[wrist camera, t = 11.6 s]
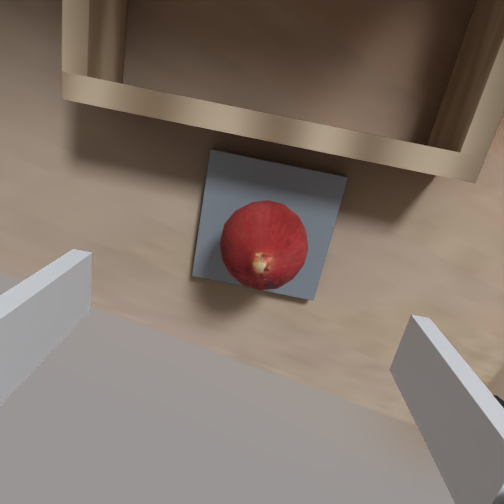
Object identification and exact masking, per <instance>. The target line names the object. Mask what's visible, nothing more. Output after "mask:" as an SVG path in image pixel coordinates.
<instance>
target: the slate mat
mask: <svg viewBox="0 0 504 504" xmlns="http://www.w3.org/2000/svg"><path fill="white" fill-rule="evenodd" d="M347 179H348V177H346V176H343V175H338V174H334V173H329V172H324V171H319V170H314V169H309V168H304V167H299V166H294V165H289V164H284V163H280V162H275V161H270V160H265V159H260V158H255V157H250V156H245V155H240V154H235V153H230V152H226V151H221V150H216V149H211V150H210V156H209V163H208V170H207V177H206V183H205V190H204V197H203V204H202V211H201V218H200V225H199V231H198V238H197V245H196V252H195V259H194V266H193V273H192V276H194V277H199V278H204V279H209V280H214V281H219V282H224V283H229V284H234V285H239V286H243V285H242V284H241V283H240V282H238V281H237V280H236V279H235V278H234V277H232V276H231V275H230V274H229V272H228V270H227V268H226V266H225V264H224V262H223V261H222V256H221V250H220V239H221V235H222V231H223V227H224V224H225V223H226V221H227V220H228V219H229V218H230V217H231V215H232V214H233V213H234V212H235V211H236V210H238V209H240V208H242V207H244V206H246V205H248V204H250V203H251V202H257V201H265V200H270V201H273V202H277V203H281V204H284V205H285V206H287V207H288V208H289V209H290V210H292V211H293V212H294V213H295V214H297V215H298V216H299V218H300V220H301V222H302V223H303V225H304V227H305V229H306V233H307V241H308V253H307V256H306V260H305V263H304V266H303V267H302V268H301V270H300V271H299V272H298V273H297V275H296V276H295V277H294V279H293V280H291V281H289V282H288V283H286V284H284V285H283V286H281V287H279V288H278V289H268V290H263V291H268V292H273V293H278V294H283V295H288V296H293V297H298V298H303V299H308V300H314V297H315V293H316V289H317V286H318V282H319V279H320V275H321V272H322V268H323V265H324V261H325V257H326V254H327V250H328V247H329V243H330V240H331V236H332V233H333V229H334V225H335V222H336V218H337V215H338V211H339V208H340V204H341V200H342V197H343V193H344V190H345V186H346V183H347ZM244 287H247V286H244ZM249 288H250V287H249ZM253 289H254V288H253Z"/></svg>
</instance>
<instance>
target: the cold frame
mask: <svg viewBox="0 0 504 504" xmlns="http://www.w3.org/2000/svg"><path fill="white" fill-rule="evenodd" d="M127 4H128V0H62V93H61V99H63V100H68V101H73V102H78V103H83V104H88V105H93V106H98V107H103V108H108V109H113V110H117V111H122V112H127V113H132V114H137V115H142V116H147V117H152V118H157V119H162V120H167V121H171V122H176V123H181V124H186V125H191V126H196V127H201V128H206V129H211V130H216V131H221V132H225V133H230V134H235V135H240V136H245V137H250V138H255V139H260V140H265V141H270V142H275V143H279V144H284V145H289V146H294V147H299V148H304V149H309V150H314V151H319V152H324V153H329V154H333V155H338V156H343V157H348V158H353V159H358V160H363V161H368V162H373V163H378V164H383V165H387V166H392V167H397V168H402V169H407V170H412V171H417V172H422V173H427V174H432V175H437V176H441V177H446V178H451V179H456V180H461V181H466V182H471V183H475V182H476V180H477V177H478V175H479V173H480V170H481V168H482V165H483V163H484V160H485V158H486V155H487V153H488V150H489V148H490V145H491V143H492V140H493V138H494V135H495V133H496V130H497V128H498V126H499V123H500V121H501V118H502V116H503V113H504V0H477V1H476V4H475V7H474V10H473V13H472V16H471V19H470V22H469V24H468V27H467V30H466V33H465V36H464V39H463V42H462V45H461V48H460V50H459V53H458V56H457V59H456V62H455V65H454V68H453V71H452V74H451V77H450V79H449V82H448V85H447V88H446V91H445V94H444V97H443V100H442V103H441V105H440V108H439V111H438V114H437V117H436V120H435V123H434V126H433V129H432V132H431V134H430V137H429V140H428V143H427V146H425V145H420V144H416V143H411V142H406V141H401V140H396V139H391V138H386V137H381V136H376V135H371V134H367V133H362V132H357V131H352V130H347V129H342V128H337V127H332V126H327V125H322V124H317V123H313V122H308V121H303V120H298V119H293V118H288V117H283V116H278V115H273V114H268V113H264V112H259V111H254V110H249V109H244V108H239V107H234V106H229V105H224V104H219V103H214V102H210V101H205V100H200V99H195V98H190V97H185V96H180V95H175V94H170V93H165V92H160V91H156V90H151V89H146V88H141V87H136V86H131V85H126V84H123V70H124V54H125V37H126V21H127Z"/></svg>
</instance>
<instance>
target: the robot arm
mask: <svg viewBox="0 0 504 504" xmlns="http://www.w3.org/2000/svg"><path fill="white" fill-rule="evenodd" d="M91 271H92V253H91V252H86V251H81V250H76V249H72V250H71V251H69V252H68V253H66V254H65V255H63V256H61V257H60V258H58V259H57V260H55V261H54V262H52V263H50V264H49V265H47V266H46V267H44V268H43V269H41V270H39V271H38V272H36V273H35V274H33V275H32V276H30V277H28V278H27V279H25V280H24V281H22V282H21V283H19V284H18V285H16V286H14V287H13V288H11V289H10V290H8V291H6V292H5V293H3V294H2V295H0V406H1V405H2V404H3V403H4V401H6V400H7V398H9V396H10V395H11V394H12V393H13V392H14V391H15V390H16V389H17V388H18V387H19V386H20V385H21V384H22V383H23V382H24V381H25V380H26V379H27V378H28V377H29V376H30V374H31V373H32V372H33V371H34V370H35V369H36V368H37V367H38V366H39V365H40V364H41V363H42V362H43V361H44V360H45V359H46V358H47V357H48V356H49V355H50V354H51V352H52V351H53V350H54V349H55V348H56V347H57V346H58V345H59V344H60V343H61V342H62V341H63V340H64V339H65V338H66V337H67V336H68V335H69V334H70V332H72V331H73V329H74V328H75V327H76V326H77V325H78V324H79V323H80V322H81V321H82V320H83V319H84V318H85V317H86V316H87V315H88V314H89V312H90V299H91ZM390 371H391V373H392V375H393V377H394V379H395V381H396V383H397V385H398V388H399V390H400V392H401V394H402V396H403V398H404V400H405V402H406V404H407V406H408V408H409V410H410V412H411V414H412V416H413V418H414V420H415V422H416V424H417V426H418V428H419V430H420V433H421V435H422V436H423V439H424V441H425V443H426V445H427V447H428V449H429V451H430V453H431V455H432V457H433V459H434V461H435V463H436V465H437V467H438V469H439V471H440V473H441V475H442V477H443V480H444V482H445V484H446V486H447V488H448V490H449V492H450V494H451V496H452V498H453V500H454V502H455V504H504V401H503V400H502V399H500V398H499V397H498V396H495V395H492V393H491V392H490V391H489V390H488V389H487V387H486V386H485V385H484V384H483V383H482V381H481V380H480V379H479V378H478V376H477V375H476V374H475V373H474V372H473V370H472V369H471V368H470V367H469V366H468V364H467V363H466V362H465V361H464V359H463V358H462V357H461V356H460V355H459V353H458V352H457V351H456V350H455V349H454V347H453V346H452V345H451V344H450V342H449V341H448V340H447V339H446V338H445V336H444V335H443V334H442V333H441V332H440V330H439V329H438V328H437V327H436V325H435V324H434V323H433V322H432V321H431V319H430V318H426V317H421V316H416V315H411V317H410V319H409V322H408V324H407V327H406V329H405V332H404V334H403V337H402V339H401V342H400V344H399V347H398V349H397V352H396V354H395V357H394V360H393V362H392V365H391V367H390Z"/></svg>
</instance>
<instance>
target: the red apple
mask: <svg viewBox="0 0 504 504" xmlns="http://www.w3.org/2000/svg"><path fill="white" fill-rule="evenodd" d="M220 250H221V256H222V261H223V262H224V264H225V266H226V268H227V270H228V272H229V274H230V275H231V276H232V277H234V278H235V279H236V280H237V281H238V282H240V283H241V284H242V285H243V286H247V287H250V288H254V289H257V290H268V289H278V288H279V287H281V286H283V285H284V284H286V283H288V282H289V281H291V280H293V279H294V277H295V276H296V275H297V273H298V272H299V271H300V270H301V268H302V267H303V266H304V263H305V260H306V256H307V253H308V241H307V233H306V229H305V227H304V225H303V223H302V222H301V220H300V218H299V216H298V215H297V214H295V213H294V212H293V211H292V210H290V209H289V208H288V207H287V206H285V205H284V204H281V203H277V202H273V201H270V200H265V201H257V202H251V203H250V204H248V205H246V206H244V207H242V208H240V209H238V210H236V211H235V212H234V213H233V214H232V215H231V217H230V218H229V219H228V220H227V221H226V223H225V224H224V227H223V231H222V235H221V239H220Z"/></svg>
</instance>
